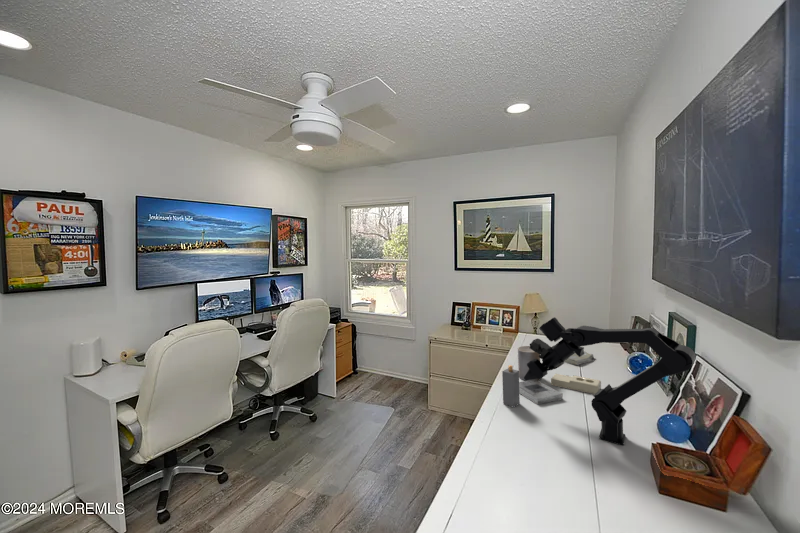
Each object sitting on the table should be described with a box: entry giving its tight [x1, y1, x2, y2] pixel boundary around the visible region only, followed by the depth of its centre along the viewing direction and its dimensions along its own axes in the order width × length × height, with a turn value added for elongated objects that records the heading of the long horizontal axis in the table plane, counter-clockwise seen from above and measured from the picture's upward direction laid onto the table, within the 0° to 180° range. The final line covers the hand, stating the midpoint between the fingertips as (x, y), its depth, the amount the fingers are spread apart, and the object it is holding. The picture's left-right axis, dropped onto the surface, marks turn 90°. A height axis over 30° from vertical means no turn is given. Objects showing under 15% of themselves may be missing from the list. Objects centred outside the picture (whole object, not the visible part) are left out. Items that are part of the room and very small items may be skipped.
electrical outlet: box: [550, 373, 602, 395], centre depth 143 cm, size 7×4×18 cm
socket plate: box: [519, 379, 564, 406], centre depth 138 cm, size 16×12×2 cm
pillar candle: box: [517, 345, 541, 382], centre depth 155 cm, size 10×10×15 cm
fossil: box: [564, 350, 597, 366], centre depth 180 cm, size 20×5×17 cm
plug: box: [501, 364, 521, 408], centre depth 130 cm, size 4×4×15 cm
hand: (530, 375), depth 124 cm, fingers open, 9 cm apart
